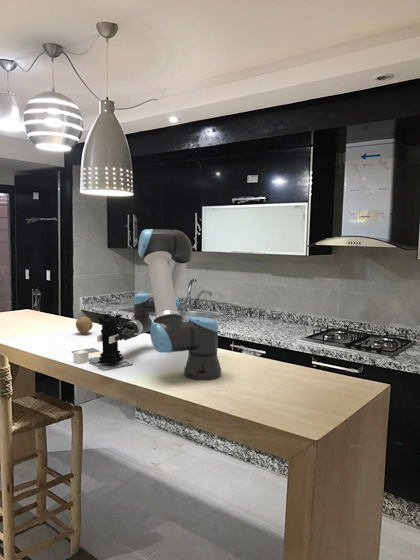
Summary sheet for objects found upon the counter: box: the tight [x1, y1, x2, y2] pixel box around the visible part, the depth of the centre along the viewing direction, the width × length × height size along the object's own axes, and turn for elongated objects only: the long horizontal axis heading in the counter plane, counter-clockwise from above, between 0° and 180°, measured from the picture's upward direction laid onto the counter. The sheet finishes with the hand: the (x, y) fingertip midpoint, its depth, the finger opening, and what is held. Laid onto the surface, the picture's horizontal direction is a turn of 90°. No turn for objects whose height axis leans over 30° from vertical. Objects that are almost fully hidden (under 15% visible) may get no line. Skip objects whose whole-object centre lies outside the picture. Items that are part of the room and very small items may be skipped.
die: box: [72, 349, 89, 365], centre depth 196 cm, size 4×4×5 cm
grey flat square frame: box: [88, 359, 134, 372], centre depth 194 cm, size 14×14×1 cm
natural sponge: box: [75, 315, 94, 335], centre depth 250 cm, size 9×9×10 cm
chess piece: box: [97, 313, 124, 366], centre depth 192 cm, size 8×8×20 cm
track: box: [71, 347, 103, 365], centre depth 206 cm, size 24×11×1 cm, turn 40°
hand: (103, 339), depth 188 cm, fingers closed on chess piece, 5 cm apart
